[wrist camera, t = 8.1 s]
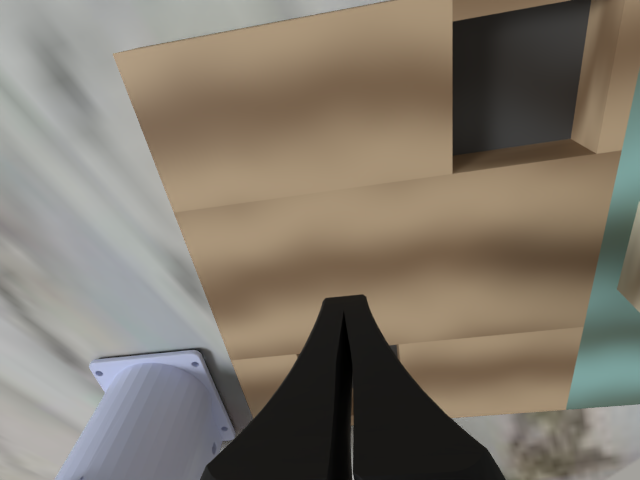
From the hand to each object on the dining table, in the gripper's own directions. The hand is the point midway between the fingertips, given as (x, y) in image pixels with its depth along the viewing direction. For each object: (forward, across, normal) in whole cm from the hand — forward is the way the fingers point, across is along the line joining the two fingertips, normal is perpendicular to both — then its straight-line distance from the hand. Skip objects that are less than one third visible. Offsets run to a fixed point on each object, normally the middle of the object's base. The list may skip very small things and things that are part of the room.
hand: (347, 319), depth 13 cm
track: (+9, -7, +3) cm, 12 cm away
